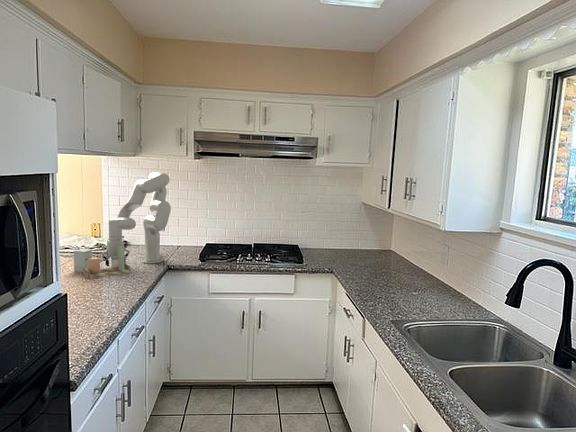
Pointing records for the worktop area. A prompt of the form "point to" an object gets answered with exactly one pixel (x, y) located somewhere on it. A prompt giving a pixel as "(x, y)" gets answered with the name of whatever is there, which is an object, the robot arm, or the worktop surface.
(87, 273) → the lane
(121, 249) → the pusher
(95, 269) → the ball
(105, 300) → the worktop surface
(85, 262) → the supplement box
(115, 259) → the cream jar
